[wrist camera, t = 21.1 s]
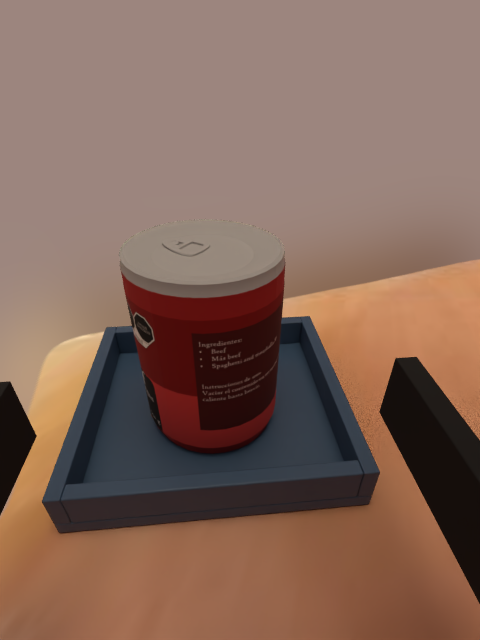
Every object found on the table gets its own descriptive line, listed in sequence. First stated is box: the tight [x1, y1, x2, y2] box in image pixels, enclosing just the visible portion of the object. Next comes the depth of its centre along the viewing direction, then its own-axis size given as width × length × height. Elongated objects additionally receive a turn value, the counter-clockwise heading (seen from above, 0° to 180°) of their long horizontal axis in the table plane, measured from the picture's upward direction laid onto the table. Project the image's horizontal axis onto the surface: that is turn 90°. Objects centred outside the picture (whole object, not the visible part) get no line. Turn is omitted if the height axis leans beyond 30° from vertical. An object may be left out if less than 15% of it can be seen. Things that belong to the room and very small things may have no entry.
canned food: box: [119, 220, 285, 454], centre depth 20 cm, size 8×8×11 cm
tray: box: [42, 316, 380, 533], centre depth 23 cm, size 16×14×3 cm
